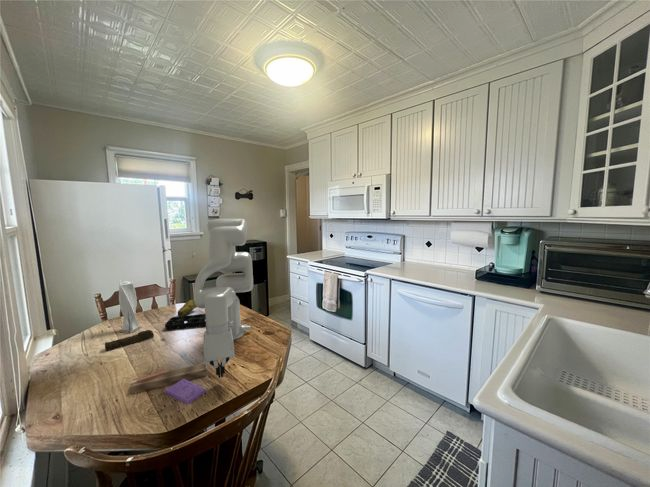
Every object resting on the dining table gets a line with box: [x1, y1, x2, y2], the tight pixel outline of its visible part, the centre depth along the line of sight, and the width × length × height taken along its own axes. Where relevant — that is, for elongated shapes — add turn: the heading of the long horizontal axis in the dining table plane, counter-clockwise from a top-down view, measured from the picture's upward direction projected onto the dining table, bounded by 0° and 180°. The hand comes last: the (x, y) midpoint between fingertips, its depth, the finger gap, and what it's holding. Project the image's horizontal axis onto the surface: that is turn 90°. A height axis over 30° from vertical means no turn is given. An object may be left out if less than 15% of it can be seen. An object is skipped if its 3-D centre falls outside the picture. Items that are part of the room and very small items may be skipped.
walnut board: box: [129, 363, 207, 395], centre depth 99 cm, size 24×5×3 cm, turn 114°
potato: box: [177, 299, 198, 316], centre depth 165 cm, size 8×13×8 cm, turn 141°
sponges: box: [164, 378, 207, 405], centre depth 93 cm, size 7×13×2 cm, turn 62°
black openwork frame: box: [164, 313, 206, 331], centre depth 151 cm, size 18×30×4 cm, turn 116°
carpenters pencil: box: [131, 370, 167, 384], centre depth 97 cm, size 10×1×1 cm, turn 126°
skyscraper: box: [118, 278, 143, 334], centre depth 142 cm, size 8×8×28 cm
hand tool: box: [104, 329, 155, 352], centre depth 128 cm, size 19×4×5 cm, turn 130°
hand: (220, 375), depth 97 cm, fingers closed
